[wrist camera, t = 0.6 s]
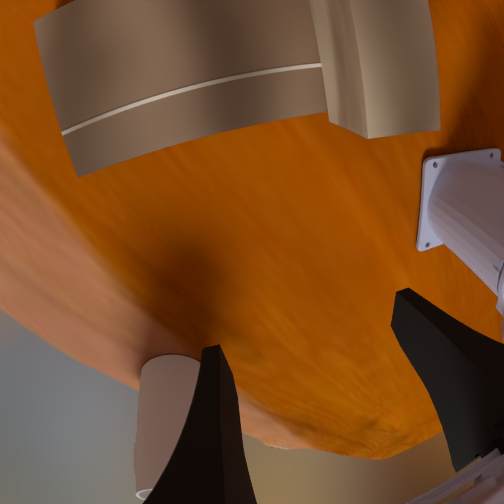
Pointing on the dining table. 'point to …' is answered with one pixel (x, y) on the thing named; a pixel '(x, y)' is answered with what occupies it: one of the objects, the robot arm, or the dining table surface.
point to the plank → (174, 71)
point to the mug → (161, 415)
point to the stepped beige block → (378, 65)
